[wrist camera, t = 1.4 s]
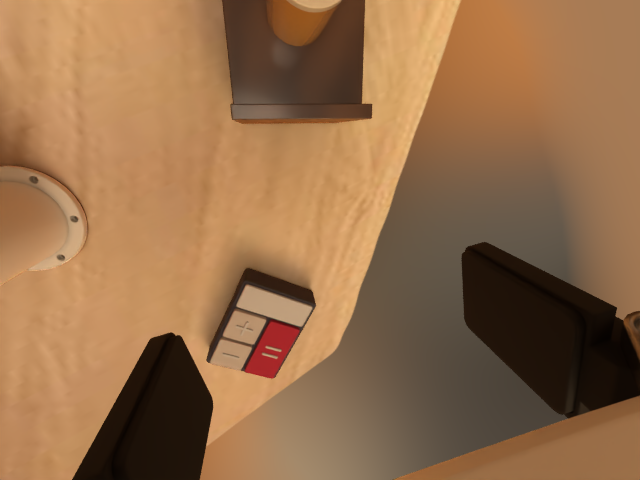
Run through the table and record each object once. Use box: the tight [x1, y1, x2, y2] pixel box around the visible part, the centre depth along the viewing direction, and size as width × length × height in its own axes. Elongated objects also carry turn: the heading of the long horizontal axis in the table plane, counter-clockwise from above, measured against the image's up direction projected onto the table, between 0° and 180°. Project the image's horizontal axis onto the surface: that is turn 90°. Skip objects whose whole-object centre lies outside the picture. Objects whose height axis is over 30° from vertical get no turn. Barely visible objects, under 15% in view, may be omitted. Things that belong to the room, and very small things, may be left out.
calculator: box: [207, 269, 316, 378], centre depth 44 cm, size 11×4×15 cm
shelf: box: [222, 0, 372, 124], centre depth 28 cm, size 12×17×13 cm
